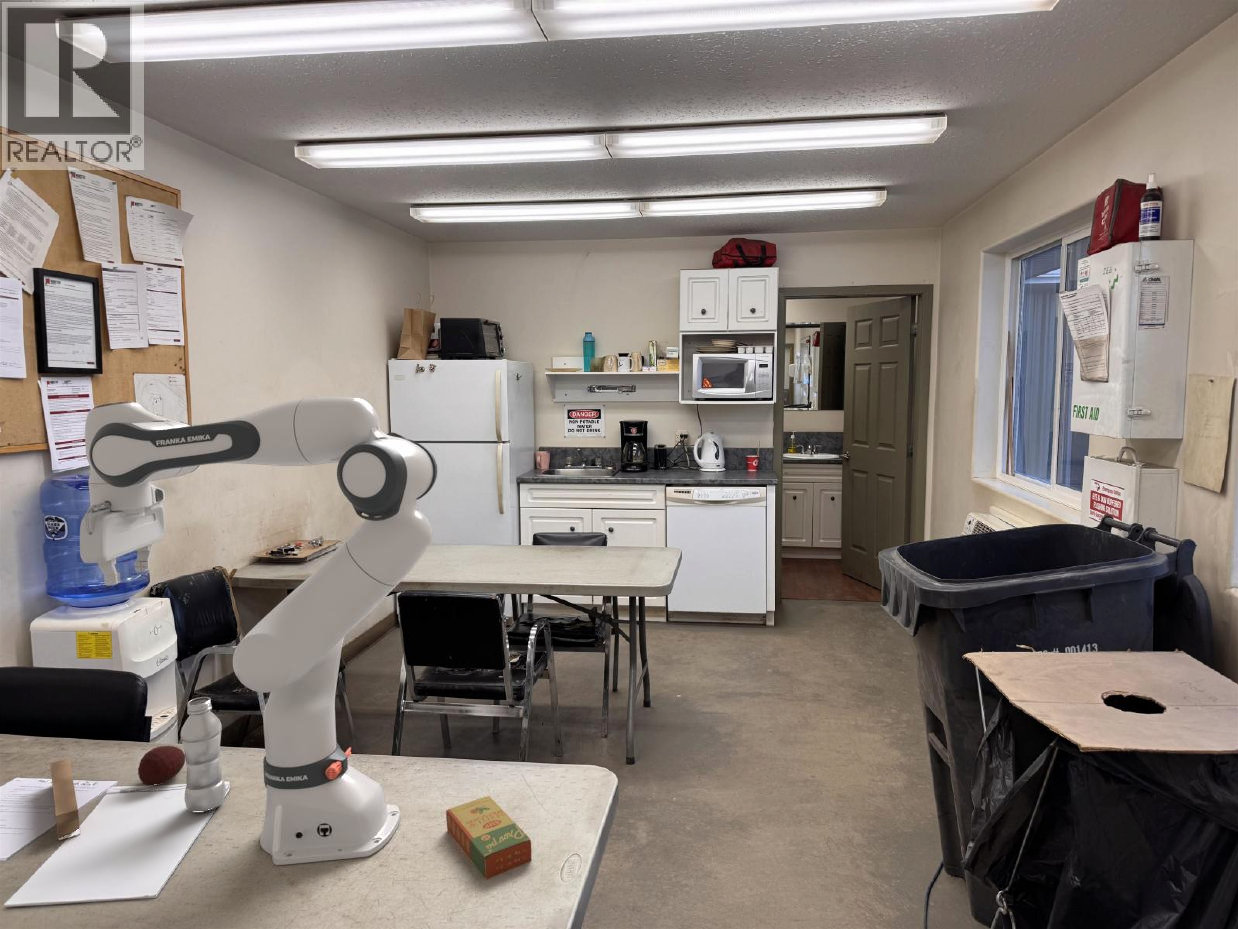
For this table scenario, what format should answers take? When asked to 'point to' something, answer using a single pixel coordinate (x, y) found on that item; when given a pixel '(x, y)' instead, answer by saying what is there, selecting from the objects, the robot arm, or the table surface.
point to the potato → (160, 764)
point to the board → (64, 798)
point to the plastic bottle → (202, 756)
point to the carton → (488, 836)
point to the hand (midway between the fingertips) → (128, 577)
